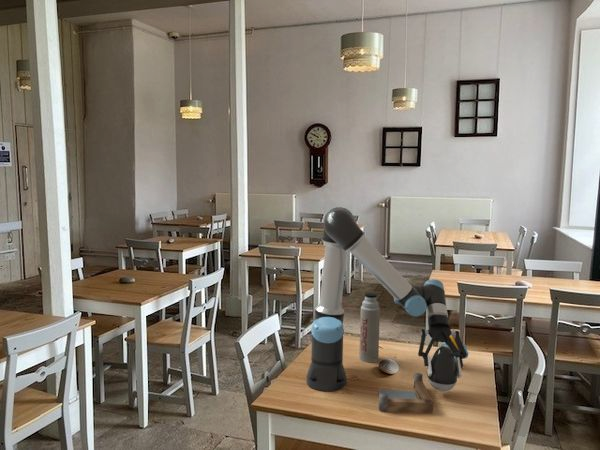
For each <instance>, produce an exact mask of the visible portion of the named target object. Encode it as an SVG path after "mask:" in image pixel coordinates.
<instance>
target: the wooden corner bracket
mask: <svg viewBox="0 0 600 450" xmlns="http://www.w3.org/2000/svg"><path fill="white" fill-rule="evenodd" d="M423 378H424V377H423V374H422V373H420V372H415V373H414V374H413V389H414V391H415V394H416V396H417V399H396V398H388V395H387V394H384V393H382V394H379V393H378V411H380V412H381V413H386V412H387V413H407V414H409V413H410V414H411V413H412V414H414V413H415V414H433V413H434V402H433V400H432V397H431V395H430V393H429V391H428V389H427V386H426V385H425V383H424V381H423V380H424V379H423Z"/></svg>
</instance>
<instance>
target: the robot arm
mask: <svg viewBox="0 0 600 450" xmlns="http://www.w3.org/2000/svg"><path fill="white" fill-rule="evenodd" d="M322 231H323V232H322V239H321V240H322V242H323V243H324V245H325V248H324V249H325V250H324V259H323V260H324V261H323V266H322V267H323V268H322V278H321V286H320V295H319V296H320V297H319V304H318V305H317V306H315V307H314V314H313V315H314V316H313V321H312V324H311V330H310V331H311V332H310V333H311V359H310V360H311V362H310V364H309V367H308V371H307V374H306V377H305V381H306V382H305V383H306V384H307V386H308V387H310V388H312V389H315V390H318V391H323V392H324V391H325V392H333V391H339V390H342V389H344V388H345V387H346V386H347V384H348V382H347V381H348V377H347V373H346V369H345V367H344V363H343V360H344V359H343V355H344V332H345V330H344V318H345V317H344V316H345V310H344V308H342V301H343V291H344V285H345V284H344V283H345V275H346V274H345V273H346V264H347V255H348V252H350V253H351V255H352V256H354V258H356V260H357V261H358V262H359V263H360V264H361V265H362V266H363V267H364V268H365V269H366V270H367V271H368V272H369V273H370V274H371V275H372V276H373V277H374V278H375V279H376V280H377V282H378V283H379V284H380V285H382V286H383V287H384V289H386V291H387V292H388V293H389V294H390V295H391V296H392V297H393V301H394V303H395V304H396V305H401V307H403V309H405V312H406V313H407V314H409V315H410V316H411V317H415V318H417V317H421V316H422V315H424V314H425V312H426V316H427V327H428V329H426V330H425V328H422V329H421V330H420V343H419V349H418V352H417V356H418V357H422V359H423V364H424V365H423V366H424V367H426V368H427V375H428V376H430V377H431V375H432V368H431V359H432V358H431V356H430V355H429V353H430V351H431V350H432V347H433V345H434V344H435V342H436V343H439V342H440V343H446V345H448V347H449V348H450V349H451V351H452V352H453V353H457V352H458V353H459V356H455V357H456V360H455V362H456V367H457V379H461V377H462V375H463V373H462V369H463V366H464V362H463V359H467V358H466V356H467V353H466V351H465V349H464V346H463V345H464V344H463V342H462V340H461V336H460V337H459V331H456V332H452V331H451V330H450V323H449V314H448V309H447V308H448V307H447V302H446V291H445V286H444V284H443V282H442V280H441V281H440V280H438V279H428V280H426V281H425V282H424V284H423V285H413V284H412V285H411V284H410V283H409V281H408V280H407V279H406V278H404V276H402V274H401V273H400V272H399V271H398V270H397V269H396V268H395V267H394V266H393V265H392V264H391V263H390V262H389V261H388V260H387V259H386V258H385V257H384V255H382V253H380V251H379V250H378V249H377V248H376V247H375V246H374V245H373V244H372V243H371V242H370V241H369V240H368V239H367V238H366V237H365V232H364V231H363V230H362V228H360V226H359V225H358V224H357V222H356V221H355V217H354V214H353V213H352V212H351V210H349V209H347V208H345V207H341V206H340V207H339V206H337V207H336V206H335V207H333V208H330V210H328V211H327V212H326V214H325V216H324V219H323V230H322ZM395 304H394V305H395ZM428 335H429V337H430V338H431V340H430V341H429V344H427V345H428V346H427V348H426V349H425V351H424V347H425V342H426V337H427V336H428ZM450 335H452V336H453V338H454V339H455V342H456V344H457V347H458V349H459V350H458V349H457V348H456V346H455V345H454V343H453V342H452V340H451V338H450ZM446 345H445V346H446Z"/></svg>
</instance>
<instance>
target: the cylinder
mask: <svg viewBox="0 0 600 450" xmlns="http://www.w3.org/2000/svg"><path fill="white" fill-rule="evenodd" d="M450 330H451V331H452V332H456V331H459V337H460V338H461V330H460V329H455V328H451V329H450ZM450 338H451V340H452V342H453V343H454V345H455V346H456V348H457V349H458V347H457V344H456V342H455V339H454V338H453V336H452V335H450ZM443 346H445V347H447V348H449V347H448V345H446V343H445V342H441V344H440V346H439V347H443ZM463 346H464V349H465V351H466V353H467V356H466V358H465V359H467V358H468V357H469V351H468V350H467V346H466V345H465V344H463ZM449 349H450V348H449ZM450 350H451V349H450ZM458 350H459V349H458ZM451 352H452V351H451ZM452 353H453V352H452ZM454 359H455V360H456V357H455V356H454Z"/></svg>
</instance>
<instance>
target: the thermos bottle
mask: <svg viewBox="0 0 600 450" xmlns="http://www.w3.org/2000/svg"><path fill="white" fill-rule="evenodd" d="M377 296H378V295H377V293H373V292H366V293H365V294H364V300H363V301H362V303H361V304H362V305H361V306H360V315H359V316H360V320H359V321H360V322H359V325H360V326H359V329H360V330H359V334H360V335H359V357H358V359H359V360H360V361H361V362H365V363H376V362H378V361H379V356H380V355H379V350H380V349H379V348H380V323H381V322H380V321H381V320H380V317H381V315H380V314H381V308H380V305H379V301H377Z"/></svg>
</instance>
